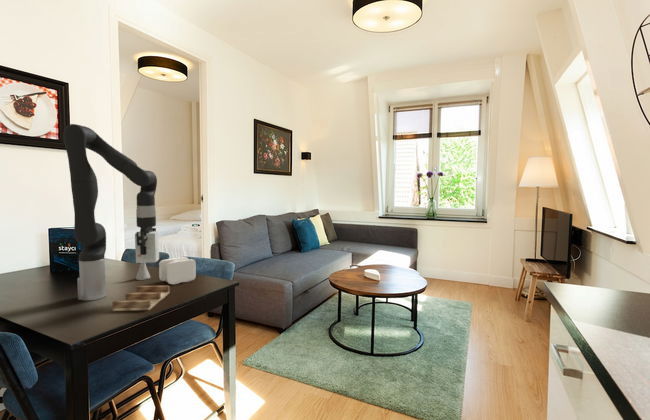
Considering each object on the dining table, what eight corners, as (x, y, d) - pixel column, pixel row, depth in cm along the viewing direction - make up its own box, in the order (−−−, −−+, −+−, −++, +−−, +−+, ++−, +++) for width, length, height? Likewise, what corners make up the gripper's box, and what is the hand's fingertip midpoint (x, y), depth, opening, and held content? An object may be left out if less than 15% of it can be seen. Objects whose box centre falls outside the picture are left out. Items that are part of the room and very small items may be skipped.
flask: (147, 275, 182) (146, 258, 181) (153, 278, 177) (152, 260, 177) (133, 278, 176) (132, 260, 176) (138, 281, 172) (138, 262, 171)
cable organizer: (166, 286, 164) (165, 263, 163) (159, 281, 171) (158, 259, 170) (196, 280, 174) (195, 259, 173) (187, 276, 182) (187, 255, 181)
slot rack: (112, 310, 131) (112, 302, 131) (138, 293, 153) (138, 285, 152) (149, 310, 133) (149, 301, 132) (169, 292, 154) (169, 285, 154)
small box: (159, 259, 150) (158, 231, 150) (155, 262, 144) (155, 233, 143) (139, 260, 148) (138, 231, 148) (135, 263, 142) (134, 233, 141)
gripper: (144, 214, 152) (145, 249, 153) (129, 217, 137) (130, 256, 139) (161, 214, 152) (162, 249, 154) (147, 217, 138) (148, 256, 139)
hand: (147, 252), depth 146 cm, fingers closed on small box, 6 cm apart
